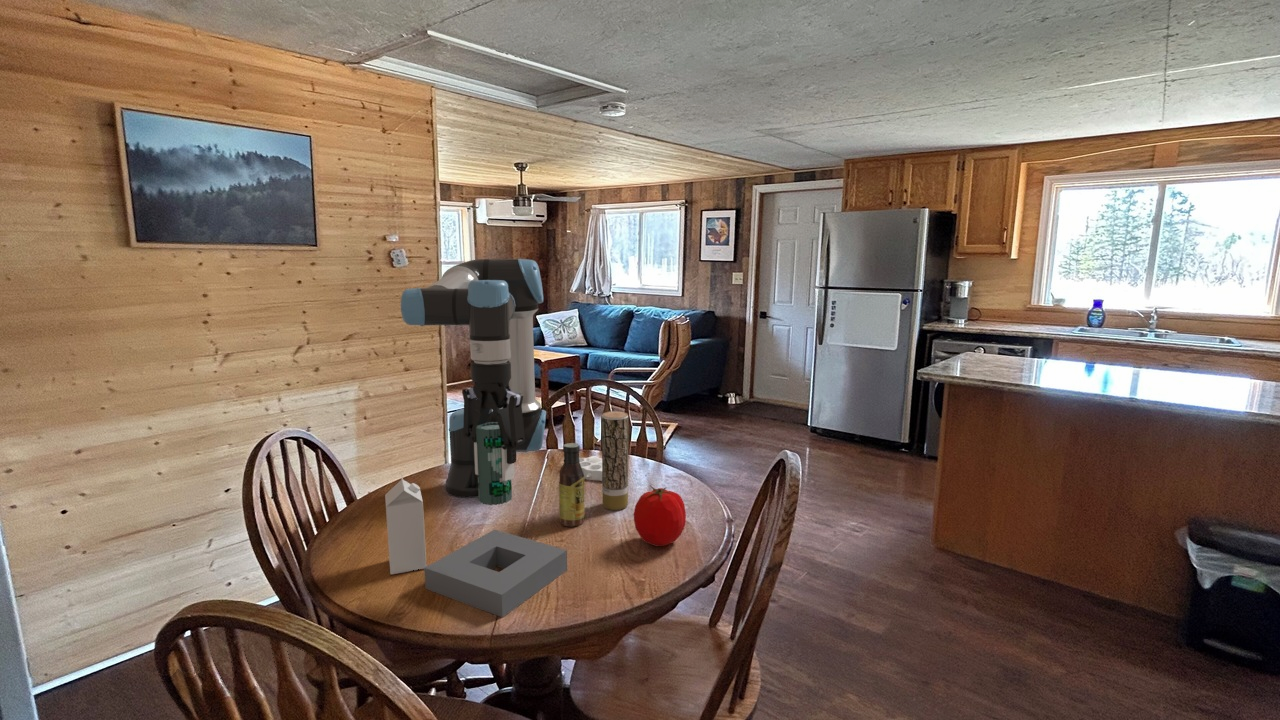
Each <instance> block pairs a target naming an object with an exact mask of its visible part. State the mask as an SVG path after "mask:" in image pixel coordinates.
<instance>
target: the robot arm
mask: <svg viewBox="0 0 1280 720" xmlns="http://www.w3.org/2000/svg"><path fill="white" fill-rule="evenodd" d="M542 303H544V291H543V284H542V277H541V272H540V267H539V264H538V263H537V261H535V260H534V259H526V258H487V259H486V258H477V259H473V260H467V261H465V262H462V263H458V264H456V265H453V266H452V267H450V268H448V269H447V270H446V271H445V272H444V273H443V274H442V276H441V278H440V279H439V280H437V281H436V282H434V283H432V284H430V285H429V286H428V287H427V288H425V287H424V288H421V287H416V288H407V289H405V290H404V291H402V294H401V298H400V312H401V316H402V317H401V318H402V320H403V322H404V323H405V324H406V325H409V326H420V327H424V326H469V348H470V349H469V350H470V359H471V360H472V361H473V362H471V364H470V373H471V374H470V375H471V376H470V379H471V382H473V386H472V387H466V388H463V389H462V390H461V394H462V397H463V398H462V399H463V408H459V409H458V410H456V411H454V412H452V413H451V414H450V416H449V425H448V427H449V428H448V432H449V445H450V446H449V447H450V449H449V451H450V467H449V469H448V475H447V478H446V480H445V492H446V493H447V494H448V495H450V496H453V497H458V498H476V497H477V498H479V489H478V464H477V438H476V427H477V426H478V425H481V424H485V423H489V422H498V424H499V428H500V431H501V435H502V438H503V442H504V445H505V446H504V447H502V448H501V453H502V481H507V480H509V479H511V480H512V479H513V478H515V476H516V475H515V463H517V453H527V452H537V451H540V450H541V449H542V447H543V444H544V437H545V436H544V433H545V427H546V419H547V418H546V417H547V411H546V410H545V409H542V403H541V402H539V401H538V400H537V399H536V384H535V383H536V381H535V378H536V377H535V351H534V349H535V348H534V347H535V346H534V315H535V314H536V313H537V311H539V304H542Z"/></svg>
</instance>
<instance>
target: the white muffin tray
mask: <svg viewBox="0 0 1280 720" xmlns="http://www.w3.org/2000/svg"><path fill="white" fill-rule="evenodd" d="M579 460H580V461H579V462H580V465H581V468H582V471H583V473H584V480H589V481H599V482H600V481H601V482H602V457H600V456H599V457H598V456H596V455H591V456H589V457H579Z"/></svg>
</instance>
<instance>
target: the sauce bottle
mask: <svg viewBox="0 0 1280 720" xmlns="http://www.w3.org/2000/svg"><path fill="white" fill-rule="evenodd" d="M562 447H563V448H562V449H563V450H562V451H563V464H562V466H561V467H560V469H559V473H558V474H559V476H558V477H559V482H558V514H559V522H560V524H561V525H562V526H565V527H577V526H580V525H582V524H583V523H584V521H585V518H584V517H585V478H584V473H583V471H582V468H581V465H580V462H579V461H580V460H579V458H580V451H581V449H580V448H581V447H580V444H579V443H576V442H571V443H570V442H569V443H568V442H567V443H565V444H563V446H562Z"/></svg>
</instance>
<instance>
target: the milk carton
mask: <svg viewBox="0 0 1280 720" xmlns="http://www.w3.org/2000/svg"><path fill="white" fill-rule="evenodd" d="M400 475H401V479H400V480H399V481H398V482H397V483H396V484H395V485H394V486H392V488H391V489H390V490H389V491H388V492H387V493H385V496H384V498H385V499H384V500H385V512H386V513H385V514H386V527H387V528H386V529H387V542H388V543H387V544H388V559H389V560H388V561H389V574H390V575H397V574H403V573H408V572H413V570H414V571H418V569H419V570H424V568H425V567H427V553H426V552H427V551H426V550H427V549H426V537H425V536H426V535H425V519H424V517H425V516H424V515H425V514H424V503H423V502H424V501H423V497H422V492H421V487H420V486H419V485H418V484H416V483H414V482H412V483H409V481H406V480H404V477H403V474H400Z"/></svg>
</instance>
